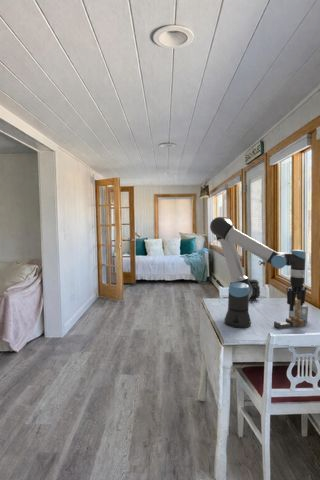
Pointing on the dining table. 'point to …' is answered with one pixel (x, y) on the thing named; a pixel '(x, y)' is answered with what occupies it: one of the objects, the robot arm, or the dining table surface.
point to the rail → (285, 324)
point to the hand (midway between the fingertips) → (295, 315)
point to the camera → (255, 289)
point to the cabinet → (302, 312)
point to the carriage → (296, 315)
